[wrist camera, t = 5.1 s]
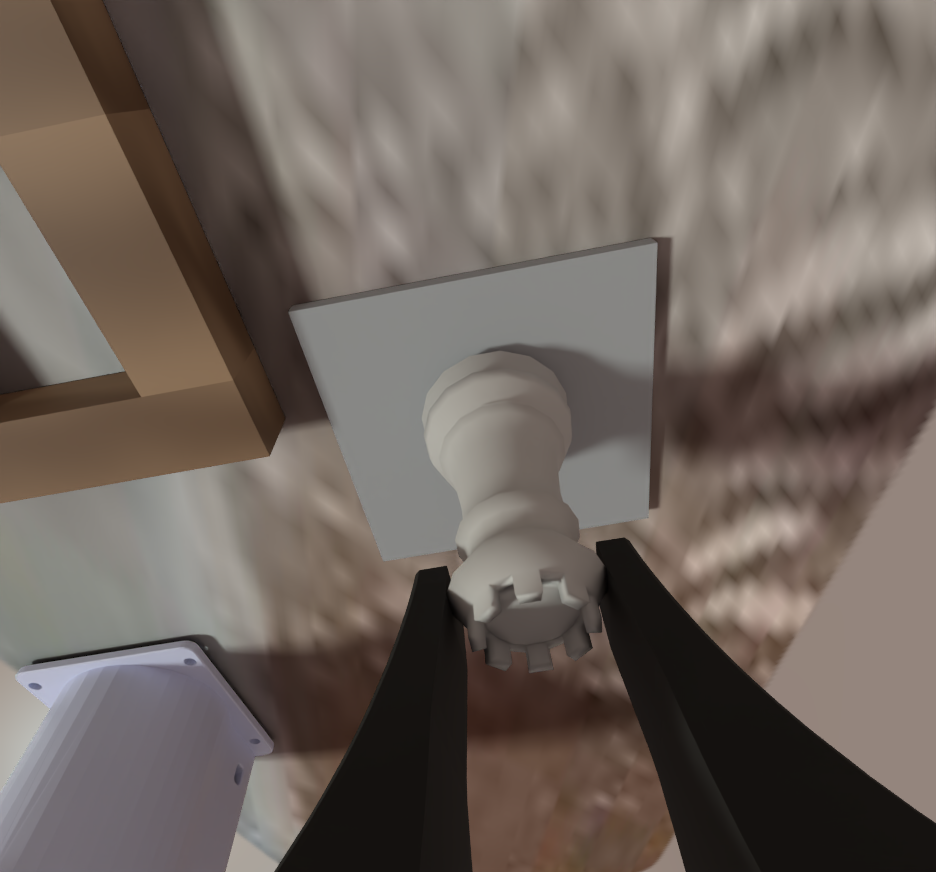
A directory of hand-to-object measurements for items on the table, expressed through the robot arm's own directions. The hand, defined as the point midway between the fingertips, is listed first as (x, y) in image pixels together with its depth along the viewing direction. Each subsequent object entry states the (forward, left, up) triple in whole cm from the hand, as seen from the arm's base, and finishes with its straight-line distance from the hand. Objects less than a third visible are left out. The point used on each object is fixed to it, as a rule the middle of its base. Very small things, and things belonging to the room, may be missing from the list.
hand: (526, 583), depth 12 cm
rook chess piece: (+1, 0, -6) cm, 6 cm away
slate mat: (0, 0, -7) cm, 7 cm away
